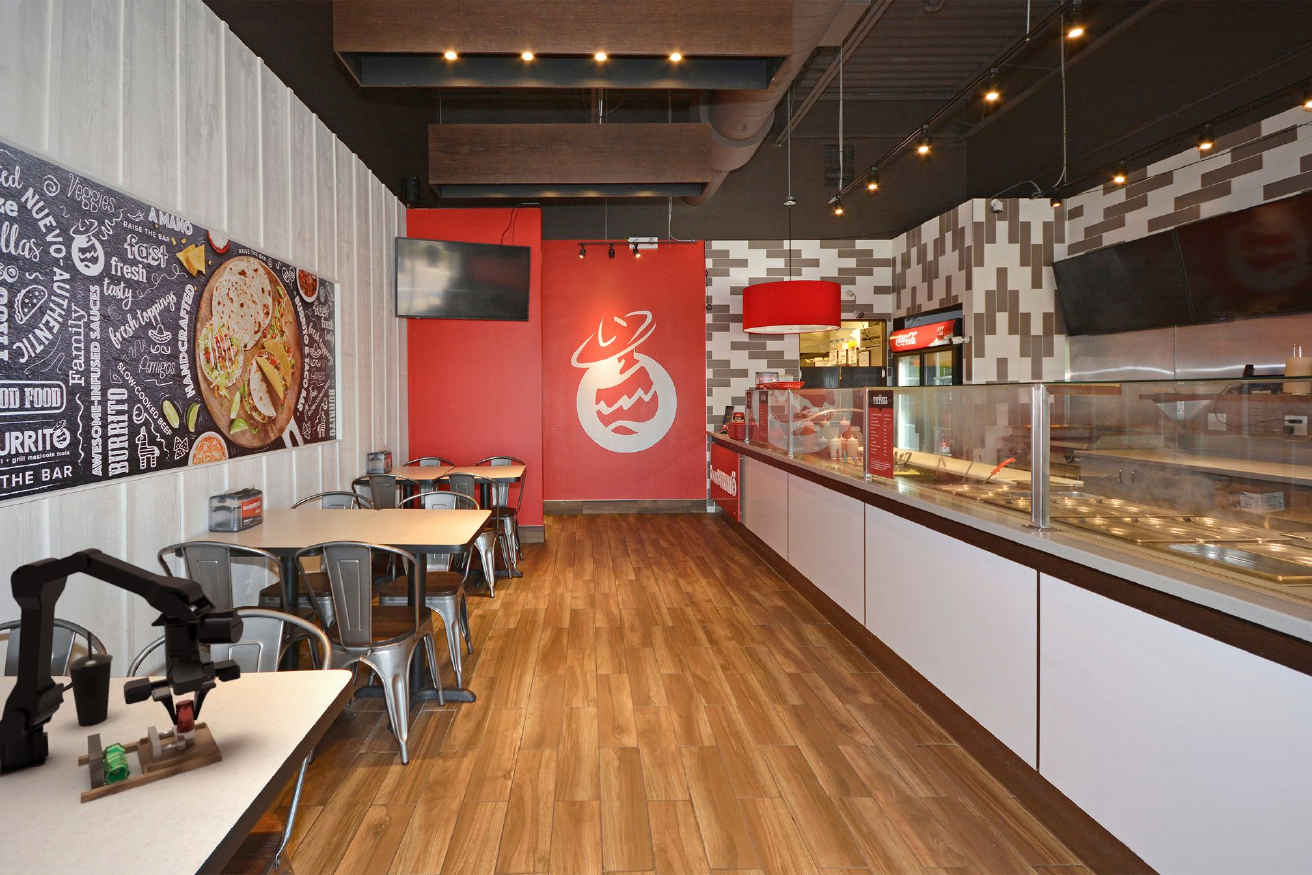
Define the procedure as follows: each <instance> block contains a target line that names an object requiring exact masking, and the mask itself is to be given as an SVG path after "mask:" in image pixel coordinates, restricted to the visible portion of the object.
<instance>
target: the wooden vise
mask: <svg viewBox="0 0 1312 875" xmlns="http://www.w3.org/2000/svg"><path fill="white" fill-rule="evenodd" d="M159 740H160V743H161V747H162V746H166V745H169V744H173V743H175V741H174V738H173V735H170V736H167V737H163V738H159ZM101 741H102V740H101V734H100V732H98V733H95V734H91V735H87V754H84V755H81V756H78V757H77V763H78V764H77V765H78V767H80V766H84V765H88V771H89V772H88V773H89V782H90V789H89V790H85V791H83V792H80V804H83V803H87V802H90V801H93V800H96V799H100V798H103V797H107V796H109V795H112V794H116V793H119V792H123V791H127V790H130V789H133V788H136V787H139V786H143V785H146V784H150V783H153V782H156V781H160V780H164V779H165V778H167V779H168V778H169V777H173V776H176V775H179V774H183V773H185V772H189V771H192V770H197V769H200V768H202V767H205V766H209V765H213V764H216V763H219V762H223V754H222V752H221V750H220V748H219V746H218V744H217V742H216V740H215V738H214V736H213V734H212V732H211V730H210V728H209V726H208V723H206V721H202V722H199V723H195V744H193V745H192V746H189V747H186V748H185V749H182V750H178V749H177V748H175V749H171V750H168V751H164V752H161V758H162V762H159V763H156V764H154V763H153V759H152V756H151V752H150V749H149V746H148V736H146V737H141V738H139V740H137V741H133V742H129V743H126V744H123V745H122V744H121V745H122V746H124V747H125V748H126V749H125V753H124V754H123V755H125V754H128V753H131V752H132V753H133V752H135V751H137V752H136V753H137V756H138V759H139V763H140V768H141V772H142V774H141V775H137V776H133V777H130V778H127V779H126V780H123V781H120V782H116V783H113V784H109V785H107V784H106V785H105V783H104V781H105V773H104V767H103V762H104V759H103V752H104V750H105V749H104V750H103V748H102V747H103V746H102V742H101Z"/></svg>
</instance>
